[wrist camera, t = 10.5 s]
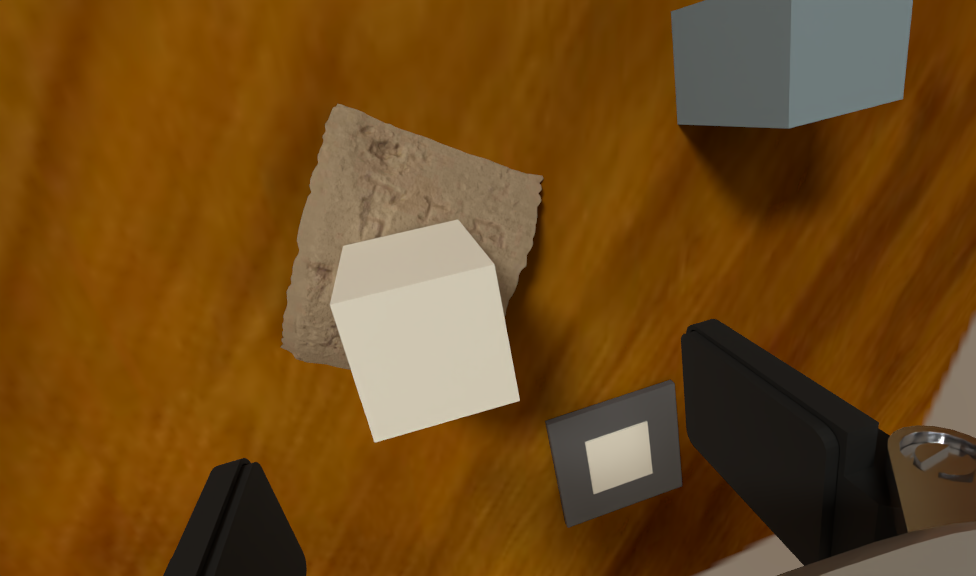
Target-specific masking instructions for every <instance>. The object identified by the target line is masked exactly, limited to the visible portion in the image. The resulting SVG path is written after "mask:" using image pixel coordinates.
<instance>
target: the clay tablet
mask: <svg viewBox="0 0 976 576" xmlns="http://www.w3.org/2000/svg"><path fill="white" fill-rule="evenodd" d="M325 128H326V132H325V134H324V135H323V136H322V137H323V145H322V147H321V148H320V151H319V154H318V165H317V166H316V167H315V170H314V171H313V173H312V177H311V179H310V185H309V186H310V190H311V194H310V195H309V196H308V198H307V202H306V205H305V208H304V209H303V214H302V218H301V221H300V226H299V231H298V236H297V242H298V247H299V254H298V256H297V257H296V259H295V261H294V265H293V267H292V268H293V273H292V276H291V282H292V283H291V285H290V286H289V287H288V290H287V292H286V293H287V302H288V304H287V308H286V310H285V313H284V316H283V317H284V323H283V324H282V326H283V332H282V334H283V337H284V338H282V342H283V345H282V346H281V348H283V349H286V350H288V351H289V352H291V353H292V354H293V355H294V357H295V358H296V359H298V360H302V361H305V362H310V363H320V364H328V365H331V366H335V367H340V368H344V369H350V370H351V368H350V365H349V362H348V359H347V356H346V353H345V350H344V347H343V344H342V341H341V338H340V334H339V331H338V328H337V325H336V322H335V319H334V316H333V313H332V310H331V307H330V302H331V297H332V293H333V288H334V284H335V280H336V275H337V271H338V266H339V262H340V257H341V253H342V248H343V246H345V245H349V244H353V243H358V242H362V241H366V240H371V239H375V238H380V237H384V236H388V235H393V234H397V233H401V232H406V231H410V230H414V229H419V228H423V227H427V226H432V225H436V224H440V223H445V222H449V221H453V220H459V221H460V222H461V224H462V225H463V226H464V227H465V228H466V230H467V231H468V232H469V233H470V235H471V236H472V237H473V238H474V240H475V241H476V242H477V243H478V245H479V246H480V247H481V248H482V250H483V251H484V252H485V253H486V254H487V256H488V257H489V258H490V259H491V261H492V262H493V263H494V265H495V270H496V275H497V281H498V286H499V291H500V297H501V302H502V307H503V313H504V317H505V315H506V308H507V306H508V301H509V299H510V298H511V297H512V295H513V292H514V291H515V288H516V286H517V285H518V278H519V273H520V272H521V270H522V269H523V268H524V267H525V266H526V264H527V254H528V252H529V251H530V250H531V248H532V246H533V237H534V235H535V229H536V227H535V224H536V222H537V217H538V216H537V206H538V205H539V204H540V202H541V197H540V195H539V194H538V193H539V192H540V191H541V190H542V188H541V185H540V182H541V181H542V180H543V176H540V175H533V174H525V173H522V172H519V171H516V170H512V169H509V168H508V167H505V166H502V165H500V164H497V163H494V162H492V161H489V160H487V159H484V158H480V157H477V156H473V155H470V154H467V153H464V152H462V151H460V150H457V149H454V148H451V147H449V146H446V145H443V144H440V143H438V142H436V141H433V140H431V139H429V138H426V137H423V136H421V135H416V134H414V133H411V132H408V131H405V130H401V129H399V128H396V127H394V126H393V125H391V124H386V123H383V122H381V121H379V120H377V119H375V118H373V117H371V116H368V115H367V114H365V113H364V112H361V111H359V110H356V109H352V108H349V107H346V106H344V105H341V104H337V106H336V107H334V108H333V109H332V112H331V114H330V117H329V119H328V121H327V122H326V124H325Z"/></svg>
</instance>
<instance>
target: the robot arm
mask: <svg viewBox="0 0 976 576" xmlns="http://www.w3.org/2000/svg"><path fill="white" fill-rule="evenodd" d="M681 348H682V364H683V380H684V396H685V412H686V428H687V434H688V437H689V439H690V441H691V443H692V444H693V446H694V447H695V448H696V449H697V450H698V451H699V452H700V453H701V454H702V456H703V457H704V458H705V459H706V460H707V461H708V462H709V463H710V464H711V465H712V466H713V467H714V469H715V470H716V471H717V472H718V473H719V474H720V475H721V476H722V477H723V478H724V479H725V480H726V482H727V483H728V484H729V485H730V486H731V487H732V488H733V489H734V490H735V491H736V492H737V493H738V495H739V496H740V497H741V498H742V499H743V500H744V501H745V502H746V503H747V504H748V505H749V506H750V508H751V509H752V510H753V511H754V512H755V513H756V514H757V515H758V516H759V517H760V518H761V519H762V521H763V522H764V523H765V524H766V525H767V526H768V527H769V528H770V529H771V530H772V531H773V532H774V534H775V535H776V536H777V537H778V538H779V539H780V540H781V541H782V542H783V543H784V544H785V545H786V547H787V548H788V549H789V550H790V551H791V552H792V553H793V554H794V555H795V556H796V557H797V558H798V559H799V561H800V562H801V563H802V564H803V565H804V566H803V567H800V568H797V569H794V570H791V571H788V572H786V573H783V574H780V575H777V576H976V438H974V437H971V436H969V435H966V434H964V433H960V432H957V431H955V430H951V429H946V428H941V427H935V426H911V427H904V428H902V429H899V430H897V431H895V432H893V434H892V435H891V436H889V435H888V434H886V433H885V432H883V431H882V430H880V429H878V425H879V422H877V421H876V420H874V419H872V418H871V417H869V416H868V415H866V414H865V413H863V412H861V411H860V410H858V409H857V408H855V407H854V406H852V405H850V404H849V403H847V402H846V401H844V400H843V399H841V398H839V397H838V396H836V395H835V394H833V393H832V392H830V391H828V390H827V389H825V388H824V387H822V386H821V385H819V384H817V383H816V382H814V381H813V380H811V379H810V378H808V377H806V376H805V375H803V374H802V373H800V372H799V371H797V370H795V369H794V368H792V367H791V366H789V365H788V364H786V363H784V362H783V361H781V360H780V359H778V358H777V357H775V356H773V355H772V354H770V353H769V352H767V351H766V350H764V349H762V348H761V347H759V346H758V345H756V344H755V343H753V342H751V341H750V340H748V339H747V338H745V337H743V336H742V335H740V334H739V333H737V332H736V331H734V330H732V329H731V328H729V327H728V326H726V325H725V324H723V323H721V322H720V321H718V320H716V319H710V320H707V321H704V322H700V323H697V324H693V325H690V326H689V327H688V328H687V331H686V334H683V335H682V337H681ZM163 576H306V560H305V556H304V554H303V551H302V549H301V547H300V545H299V543H298V541H297V539H296V537H295V535H294V533H293V531H292V529H291V527H290V525H289V523H288V521H287V519H286V516H285V514H284V512H283V510H282V508H281V506H280V504H279V502H278V500H277V498H276V496H275V494H274V492H273V490H272V488H271V486H270V484H269V482H268V480H267V478H266V475H265V473H264V471H263V469H262V467H261V466H260V464H259V463H257V462H254V463H250V461H249V460H248V459H246V458H242V459H239V460H236V461H232V462H229V463H225V464H222V465H219V466H216V467H214V468H213V470H212V471H211V473H210V475H209V478H208V480H207V482H206V484H205V486H204V489H203V491H202V493H201V495H200V497H199V500H198V502H197V504H196V506H195V508H194V511H193V513H192V515H191V517H190V519H189V522H188V524H187V526H186V528H185V530H184V533H183V535H182V537H181V539H180V542H179V544H178V546H177V548H176V550H175V553H174V555H173V557H172V558H171V560H170V562H169V564H168V566H167V569H166V571H165V573H164V575H163Z"/></svg>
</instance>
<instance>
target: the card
mask: <svg viewBox="0 0 976 576" xmlns="http://www.w3.org/2000/svg"><path fill="white" fill-rule="evenodd" d="M545 423H546V428H547V433H548V438H549V443H550V448H551V453H552V458H553V463H554V468H555V473H556V478H557V483H558V488H559V493H560V498H561V503H562V508H563V513H564V518H565V523H566V525H567V527H568V528H569V527H571V526H574V525H577V524H579V523H582V522H585V521H588V520H590V519H593V518H596V517H599V516H601V515H604V514H607V513H610V512H612V511H615V510H618V509H620V508H623V507H626V506H629V505H631V504H634V503H637V502H640V501H642V500H645V499H648V498H651V497H653V496H656V495H659V494H662V493H664V492H667V491H670V490H672V489H675V488H678V487H681V486H682V476H681V463H680V450H679V437H678V424H677V410H676V397H675V384H674V382H673V381H671V380H668V381H665V382H662V383H659V384H656V385H653V386H650V387H647V388H644V389H641V390H638V391H635V392H632V393H629V394H626V395H623V396H620V397H617V398H614V399H611V400H608V401H605V402H602V403H599V404H596V405H593V406H590V407H587V408H584V409H581V410H577V411H574V412H571V413H568V414H565V415H562V416H559V417H556V418H553V419H550V420H547V421H545Z"/></svg>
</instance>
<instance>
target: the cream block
mask: <svg viewBox="0 0 976 576" xmlns="http://www.w3.org/2000/svg"><path fill="white" fill-rule="evenodd" d="M330 307H331V310H332V313H333V316H334V319H335V322H336V325H337V328H338V331H339V334H340V338H341V341H342V344H343V347H344V350H345V353H346V356H347V359H348V362H349V365H350V368H351V371H352V374H353V377H354V381H355V384H356V387H357V390H358V393H359V396H360V399H361V402H362V405H363V408H364V411H365V414H366V417H367V420H368V423H369V427H370V430H371V433H372V436H373V439H374V442H378V441H382V440H385V439H389V438H392V437H396V436H399V435H403V434H406V433H410V432H413V431H417V430H420V429H424V428H427V427H431V426H434V425H438V424H441V423H444V422H448V421H451V420H455V419H458V418H462V417H465V416H469V415H472V414H476V413H479V412H483V411H486V410H490V409H493V408H497V407H500V406H504V405H507V404H511V403H514V402H518V401H520V398H519V393H518V388H517V382H516V377H515V372H514V366H513V361H512V355H511V350H510V345H509V339H508V334H507V329H506V323H505V318H504V313H503V307H502V302H501V297H500V291H499V286H498V281H497V275H496V270H495V265H494V263H493V262H492V261H491V259H490V258H489V257H488V256H487V254H486V253H485V252H484V251H483V250H482V248H481V247H480V246H479V245H478V243H477V242H476V241H475V240H474V238H473V237H472V236H471V235H470V233H469V232H468V231H467V230H466V228H465V227H464V226H463V225H462V224H461V222H460V221H459V220H453V221H449V222H445V223H440V224H436V225H432V226H427V227H423V228H419V229H414V230H410V231H406V232H401V233H397V234H393V235H388V236H384V237H380V238H375V239H371V240H366V241H362V242H358V243H353V244H349V245H345V246H343V248H342V253H341V257H340V262H339V266H338V271H337V275H336V280H335V284H334V288H333V293H332V297H331V302H330Z"/></svg>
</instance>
